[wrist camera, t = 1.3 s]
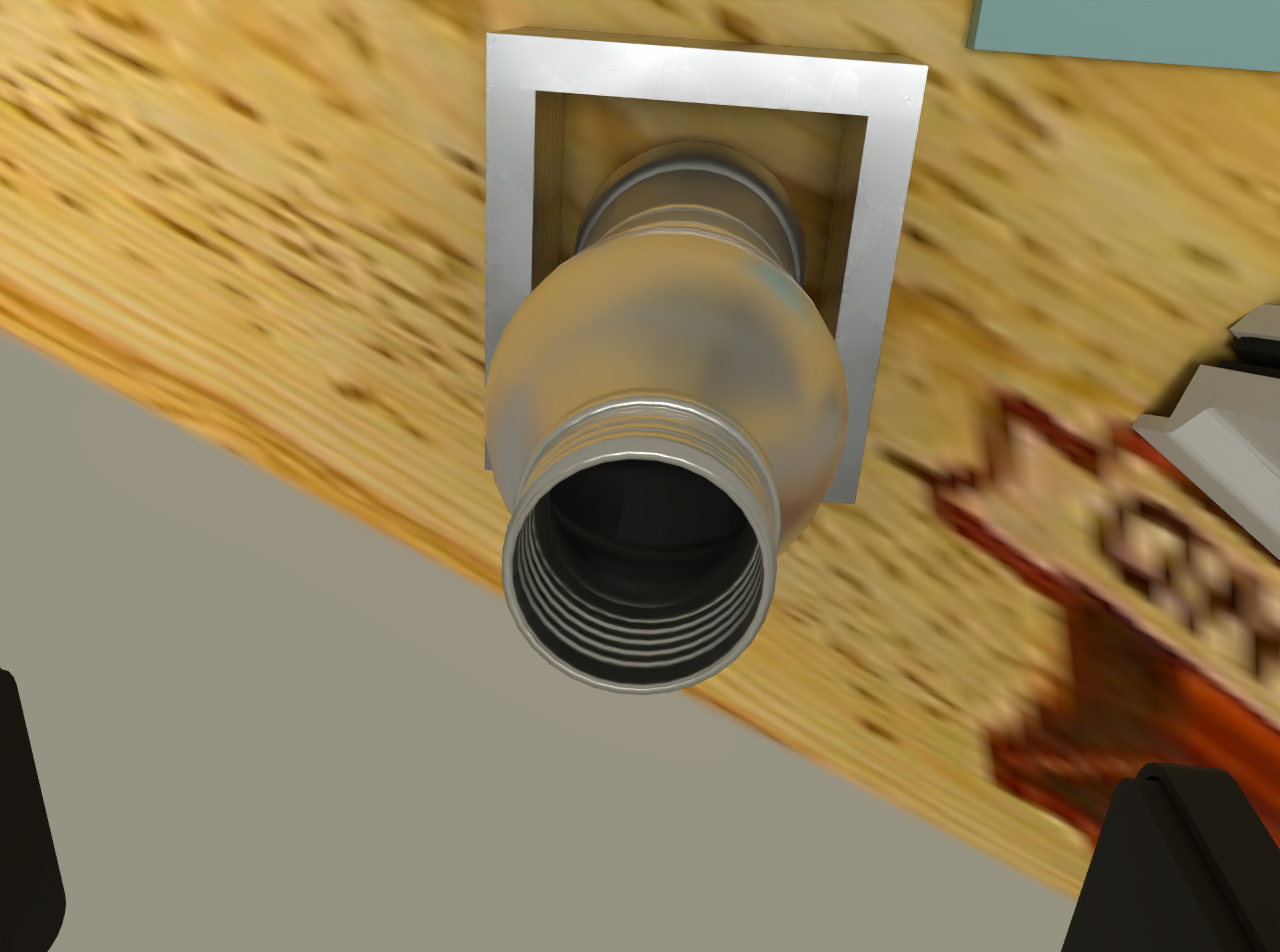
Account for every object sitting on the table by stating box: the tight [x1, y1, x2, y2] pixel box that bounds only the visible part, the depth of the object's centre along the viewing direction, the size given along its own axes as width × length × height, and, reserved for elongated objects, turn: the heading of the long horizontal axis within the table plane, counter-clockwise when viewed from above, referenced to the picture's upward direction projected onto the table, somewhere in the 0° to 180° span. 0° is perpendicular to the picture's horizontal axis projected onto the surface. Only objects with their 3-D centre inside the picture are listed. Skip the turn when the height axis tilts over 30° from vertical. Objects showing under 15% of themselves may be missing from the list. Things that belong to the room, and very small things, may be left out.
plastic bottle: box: [484, 141, 849, 695], centre depth 23 cm, size 6×7×20 cm
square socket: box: [485, 27, 928, 504], centre depth 29 cm, size 11×10×5 cm
